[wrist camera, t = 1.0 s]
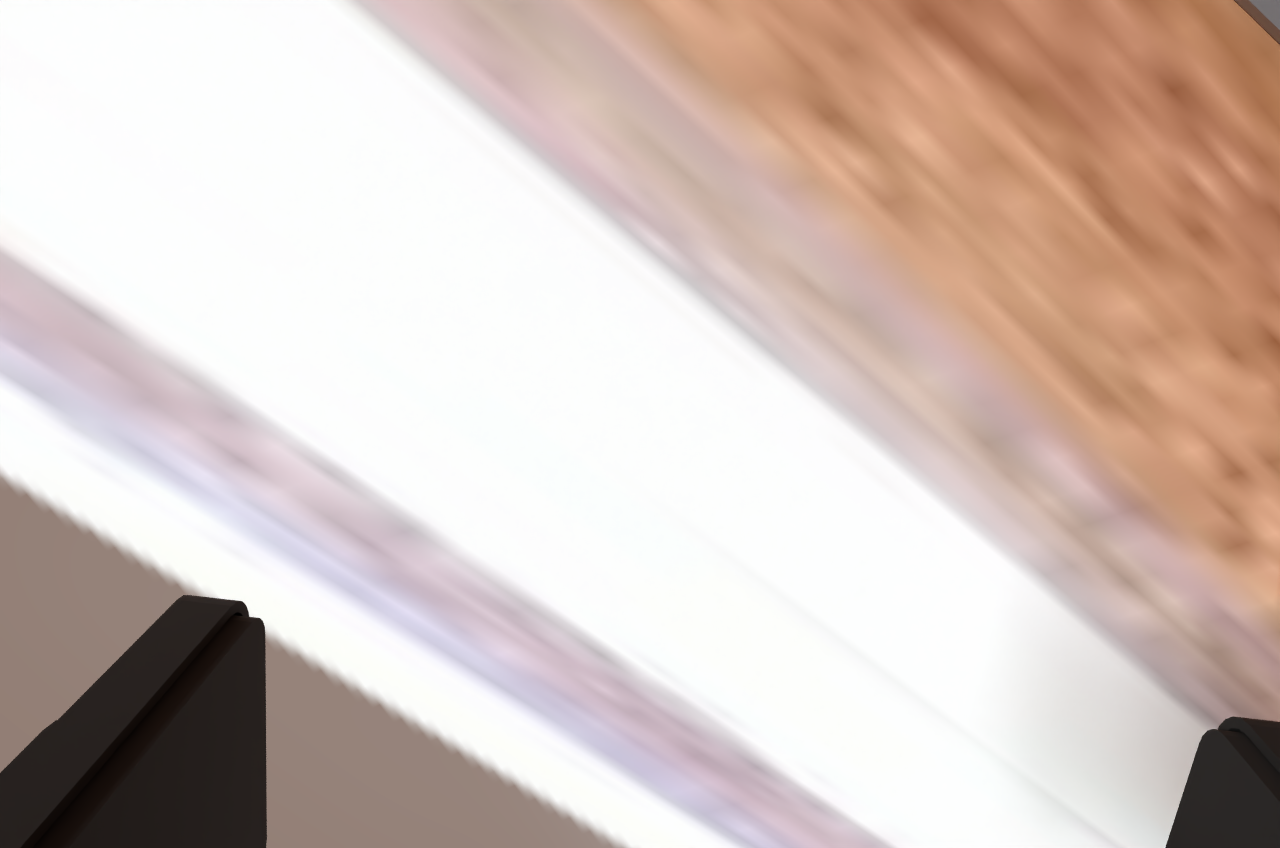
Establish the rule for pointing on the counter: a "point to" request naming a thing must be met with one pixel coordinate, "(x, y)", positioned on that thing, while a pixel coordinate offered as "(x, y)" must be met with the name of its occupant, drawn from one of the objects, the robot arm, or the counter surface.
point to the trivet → (1264, 14)
